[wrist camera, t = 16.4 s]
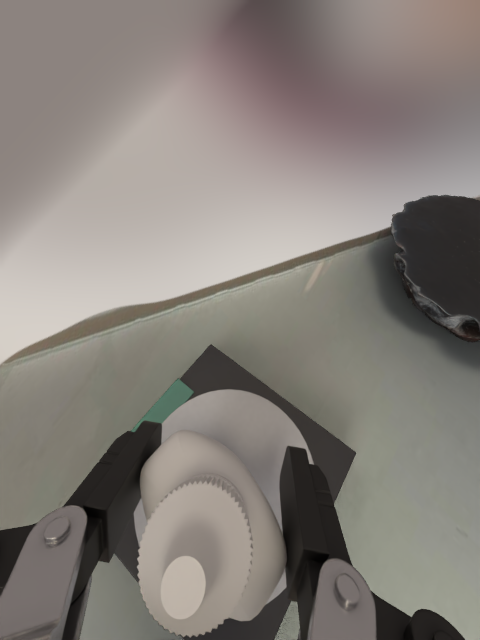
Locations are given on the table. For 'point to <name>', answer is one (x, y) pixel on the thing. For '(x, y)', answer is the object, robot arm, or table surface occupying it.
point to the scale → (240, 457)
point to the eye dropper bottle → (205, 537)
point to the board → (441, 260)
